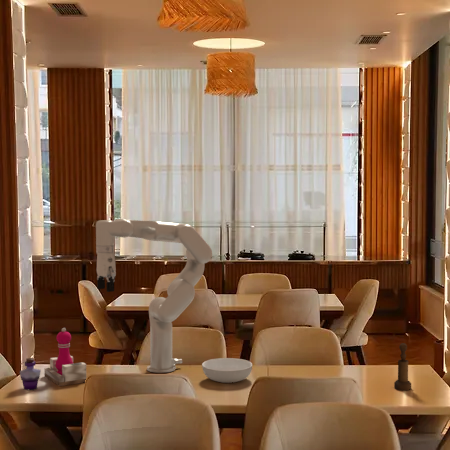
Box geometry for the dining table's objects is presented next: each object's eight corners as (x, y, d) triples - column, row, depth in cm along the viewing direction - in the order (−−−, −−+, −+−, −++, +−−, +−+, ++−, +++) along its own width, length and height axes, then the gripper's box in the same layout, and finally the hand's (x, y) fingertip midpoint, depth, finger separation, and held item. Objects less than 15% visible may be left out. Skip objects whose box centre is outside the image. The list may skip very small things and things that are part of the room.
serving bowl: (193, 383, 313) (193, 366, 312) (215, 371, 332) (215, 356, 331) (240, 389, 304) (240, 372, 304) (260, 377, 323) (260, 360, 323)
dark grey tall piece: (413, 387, 306) (414, 342, 305) (408, 391, 300) (409, 346, 299) (397, 385, 309) (397, 341, 308) (392, 389, 304) (392, 344, 303)
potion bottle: (24, 385, 311) (24, 355, 310) (45, 385, 309) (44, 356, 308) (15, 390, 302) (15, 360, 301) (36, 391, 301) (35, 361, 300)
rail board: (71, 372, 330) (71, 354, 330) (87, 381, 315) (87, 363, 315) (44, 376, 324) (44, 358, 323) (59, 386, 309) (59, 367, 308)
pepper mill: (69, 378, 315) (68, 329, 314) (52, 377, 317) (51, 329, 316) (76, 373, 322) (75, 326, 321) (59, 372, 324) (59, 325, 323)
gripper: (122, 250, 317) (122, 292, 318) (105, 247, 332) (105, 287, 333) (105, 251, 313) (105, 293, 314) (89, 248, 328) (89, 288, 329)
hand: (105, 290), depth 324 cm, fingers open, 9 cm apart
